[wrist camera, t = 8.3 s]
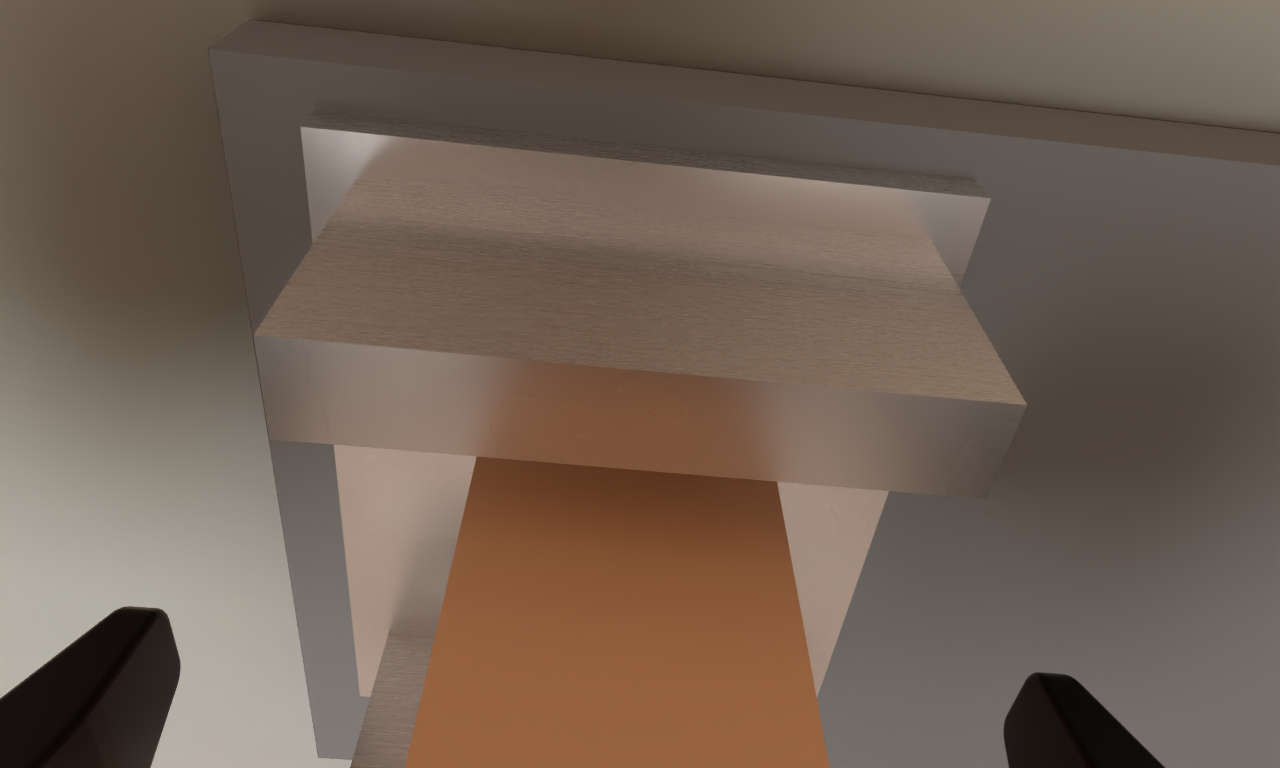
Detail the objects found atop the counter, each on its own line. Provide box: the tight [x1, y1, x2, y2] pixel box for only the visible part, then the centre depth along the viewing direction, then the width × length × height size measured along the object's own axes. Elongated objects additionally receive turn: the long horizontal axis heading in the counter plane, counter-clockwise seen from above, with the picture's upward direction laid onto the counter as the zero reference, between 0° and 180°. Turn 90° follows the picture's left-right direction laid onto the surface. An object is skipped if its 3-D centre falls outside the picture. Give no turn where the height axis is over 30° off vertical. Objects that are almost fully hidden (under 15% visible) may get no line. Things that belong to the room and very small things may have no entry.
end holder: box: [254, 110, 1027, 768], centre depth 11 cm, size 9×7×4 cm
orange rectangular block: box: [405, 457, 830, 768], centre depth 9 cm, size 4×3×6 cm
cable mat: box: [208, 20, 1280, 768], centre depth 14 cm, size 12×20×1 cm, turn 84°
